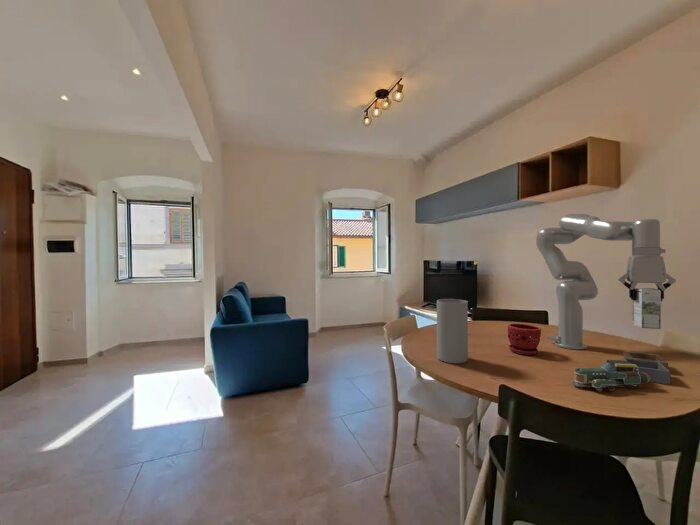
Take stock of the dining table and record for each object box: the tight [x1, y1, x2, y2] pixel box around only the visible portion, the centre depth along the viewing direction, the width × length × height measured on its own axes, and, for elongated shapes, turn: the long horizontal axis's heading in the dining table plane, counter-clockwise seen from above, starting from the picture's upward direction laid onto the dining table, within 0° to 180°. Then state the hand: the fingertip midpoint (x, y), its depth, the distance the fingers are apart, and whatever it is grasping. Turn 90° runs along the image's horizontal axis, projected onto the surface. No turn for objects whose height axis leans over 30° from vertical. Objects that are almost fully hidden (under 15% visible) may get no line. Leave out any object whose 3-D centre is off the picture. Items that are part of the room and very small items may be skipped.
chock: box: [606, 359, 637, 372], centre depth 107 cm, size 6×5×6 cm
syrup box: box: [632, 287, 662, 330], centre depth 113 cm, size 6×6×14 cm
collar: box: [623, 350, 669, 370], centre depth 118 cm, size 10×10×4 cm
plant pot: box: [507, 323, 542, 356], centre depth 138 cm, size 13×13×12 cm
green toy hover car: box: [571, 362, 651, 393], centre depth 101 cm, size 10×25×8 cm, turn 89°
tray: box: [621, 357, 671, 386], centre depth 109 cm, size 10×10×4 cm
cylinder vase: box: [436, 298, 469, 365], centre depth 129 cm, size 12×12×25 cm
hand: (646, 300), depth 113 cm, fingers closed on syrup box, 6 cm apart
